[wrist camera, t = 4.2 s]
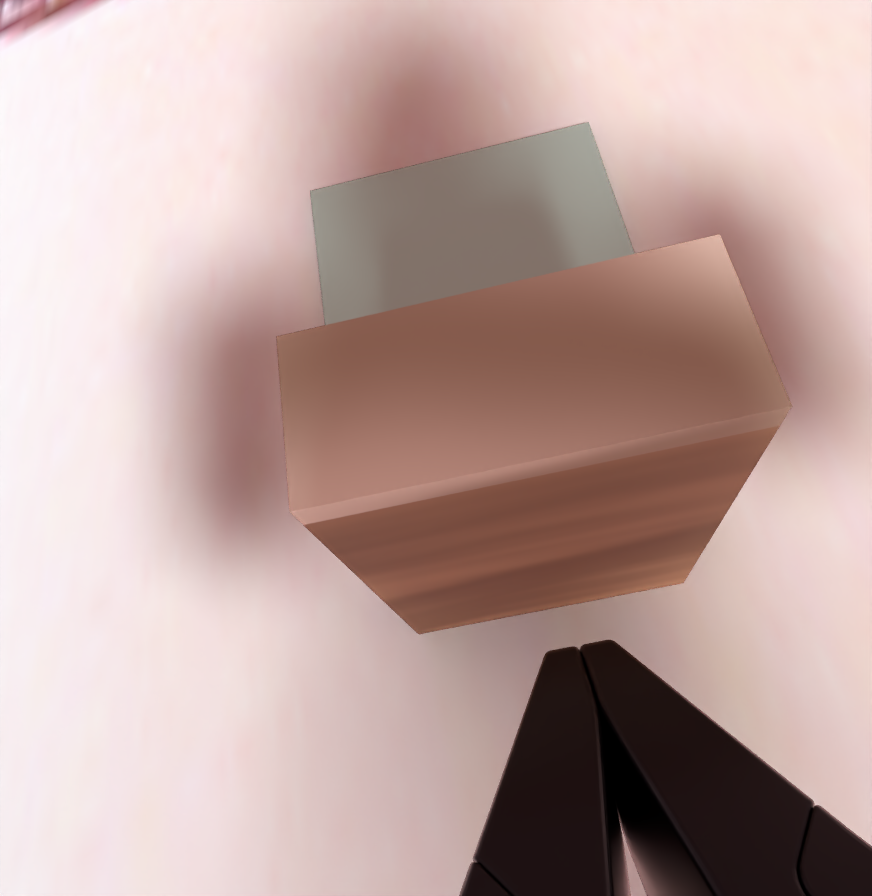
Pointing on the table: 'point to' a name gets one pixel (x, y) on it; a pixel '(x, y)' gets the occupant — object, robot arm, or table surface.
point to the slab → (531, 434)
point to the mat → (465, 223)
